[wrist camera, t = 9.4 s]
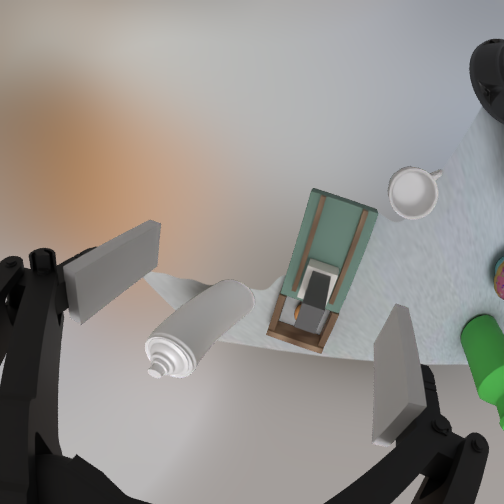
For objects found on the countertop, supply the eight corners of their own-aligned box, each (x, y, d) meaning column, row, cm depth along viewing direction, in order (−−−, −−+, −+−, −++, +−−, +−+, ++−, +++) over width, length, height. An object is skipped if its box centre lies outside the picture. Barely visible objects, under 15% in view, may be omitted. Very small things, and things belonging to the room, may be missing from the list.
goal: (340, 304, 55) (338, 316, 52) (323, 341, 59) (321, 353, 56) (283, 285, 58) (278, 296, 54) (271, 323, 62) (266, 334, 58)
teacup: (400, 219, 47) (405, 229, 42) (375, 180, 46) (378, 186, 41) (447, 188, 42) (458, 195, 37) (424, 148, 41) (432, 149, 36)
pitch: (376, 209, 47) (378, 213, 45) (339, 304, 55) (338, 313, 53) (313, 187, 49) (311, 191, 47) (283, 285, 58) (280, 293, 55)
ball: (315, 314, 59) (320, 303, 56) (310, 331, 56) (315, 321, 53) (295, 308, 59) (300, 296, 56) (289, 324, 57) (293, 314, 54)
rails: (368, 210, 45) (368, 212, 44) (333, 301, 52) (333, 304, 51) (321, 194, 46) (320, 196, 45) (292, 287, 54) (291, 290, 53)
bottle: (499, 310, 45) (546, 398, 23) (491, 345, 48) (525, 434, 26) (462, 315, 48) (499, 412, 26) (456, 350, 51) (481, 446, 29)
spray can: (219, 325, 66) (161, 407, 44) (190, 286, 64) (118, 358, 42) (262, 307, 61) (212, 399, 39) (232, 263, 59) (163, 341, 37)
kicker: (338, 267, 49) (333, 309, 38) (327, 297, 52) (318, 344, 41) (310, 258, 50) (296, 297, 39) (300, 288, 53) (283, 332, 42)
